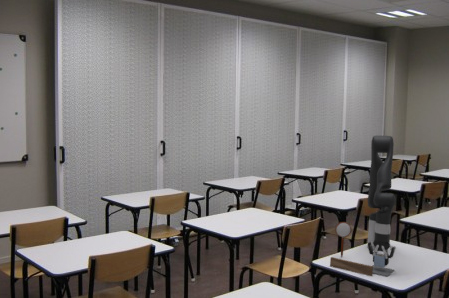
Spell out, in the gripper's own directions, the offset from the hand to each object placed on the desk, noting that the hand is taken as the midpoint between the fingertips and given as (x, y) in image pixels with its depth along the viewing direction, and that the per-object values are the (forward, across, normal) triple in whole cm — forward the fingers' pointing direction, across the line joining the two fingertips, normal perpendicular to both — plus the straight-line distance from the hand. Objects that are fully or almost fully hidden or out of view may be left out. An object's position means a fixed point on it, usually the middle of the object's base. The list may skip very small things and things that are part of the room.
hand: (380, 263), depth 251 cm
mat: (+4, 0, 0) cm, 4 cm away
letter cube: (0, 0, 0) cm, 0 cm away
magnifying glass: (+4, +24, -8) cm, 26 cm away
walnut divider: (+4, +12, +9) cm, 15 cm away
